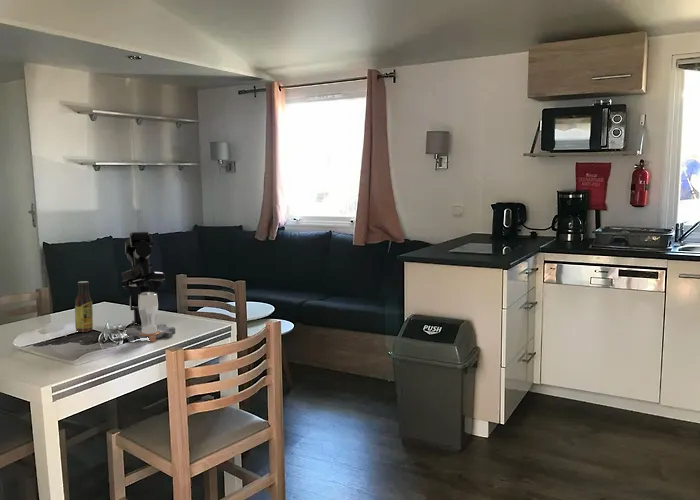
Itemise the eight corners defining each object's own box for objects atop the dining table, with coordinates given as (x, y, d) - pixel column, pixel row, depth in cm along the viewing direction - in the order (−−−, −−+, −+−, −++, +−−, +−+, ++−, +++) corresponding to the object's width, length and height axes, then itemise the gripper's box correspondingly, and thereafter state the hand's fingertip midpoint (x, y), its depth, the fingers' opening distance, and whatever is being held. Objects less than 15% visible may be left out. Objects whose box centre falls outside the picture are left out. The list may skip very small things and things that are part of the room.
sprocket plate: (117, 332, 224) (116, 327, 224) (169, 326, 233) (169, 321, 233) (124, 345, 206) (123, 339, 206) (180, 338, 216) (180, 332, 216)
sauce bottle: (86, 334, 222) (84, 283, 219) (72, 333, 223) (69, 282, 221) (97, 329, 228) (94, 280, 226) (83, 329, 229) (80, 280, 227)
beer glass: (161, 333, 215) (160, 293, 213) (142, 336, 211) (141, 296, 209) (155, 329, 221) (154, 291, 219) (137, 332, 216) (135, 293, 215)
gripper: (108, 265, 224) (111, 305, 221) (141, 256, 216) (144, 297, 213) (132, 267, 234) (134, 305, 231) (164, 258, 225) (167, 297, 222)
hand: (144, 301), depth 224 cm, fingers open, 9 cm apart
